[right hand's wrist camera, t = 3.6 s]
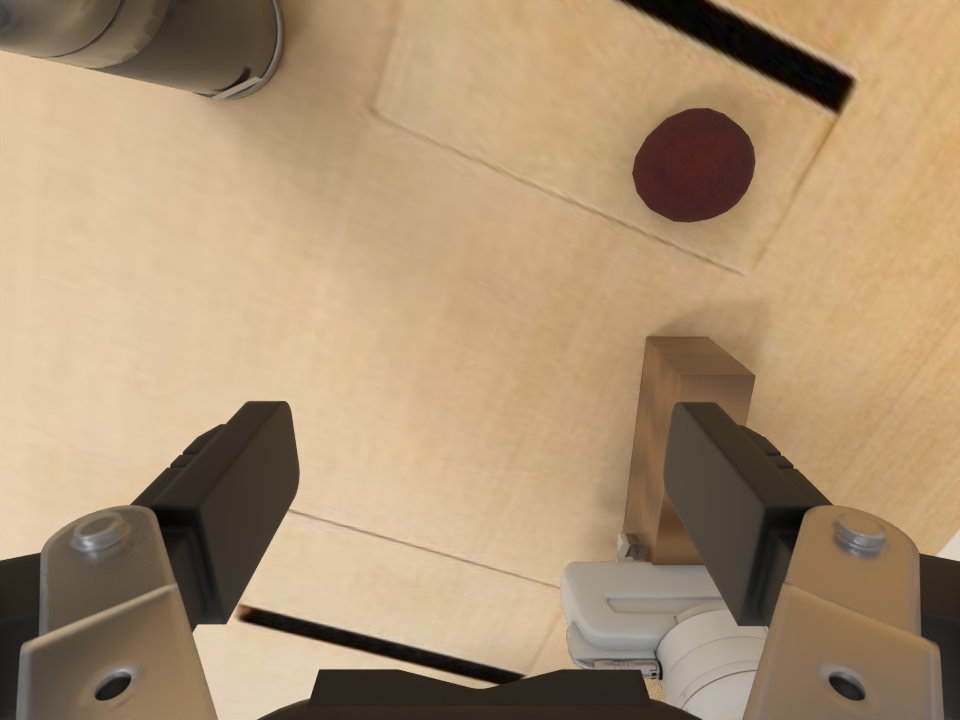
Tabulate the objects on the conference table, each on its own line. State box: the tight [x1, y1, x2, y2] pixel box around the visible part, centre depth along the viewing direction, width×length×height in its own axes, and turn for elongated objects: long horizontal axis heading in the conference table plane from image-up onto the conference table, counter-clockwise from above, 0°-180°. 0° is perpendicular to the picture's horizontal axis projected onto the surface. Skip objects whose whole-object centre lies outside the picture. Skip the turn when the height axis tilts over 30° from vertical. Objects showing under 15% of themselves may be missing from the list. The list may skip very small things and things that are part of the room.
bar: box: [623, 337, 755, 565], centre depth 45 cm, size 23×5×8 cm, turn 0°
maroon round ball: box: [632, 108, 755, 222], centre depth 36 cm, size 7×8×7 cm
